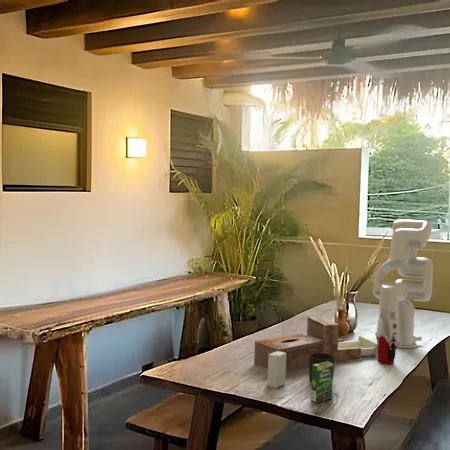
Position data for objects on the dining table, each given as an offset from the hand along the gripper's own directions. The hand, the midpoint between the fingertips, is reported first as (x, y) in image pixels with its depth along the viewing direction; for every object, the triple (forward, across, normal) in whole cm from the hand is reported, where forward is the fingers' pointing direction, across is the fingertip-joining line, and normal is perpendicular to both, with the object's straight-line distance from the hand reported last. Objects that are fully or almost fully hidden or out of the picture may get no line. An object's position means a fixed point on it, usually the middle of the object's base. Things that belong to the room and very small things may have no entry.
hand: (386, 355), depth 246 cm
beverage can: (+4, 0, 0) cm, 4 cm away
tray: (+3, +15, +7) cm, 17 cm away
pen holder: (+4, -15, +39) cm, 42 cm away
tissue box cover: (+4, +9, +41) cm, 42 cm away
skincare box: (+4, -14, +57) cm, 59 cm away
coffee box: (+4, -32, +48) cm, 58 cm away
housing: (+3, +15, +17) cm, 23 cm away
